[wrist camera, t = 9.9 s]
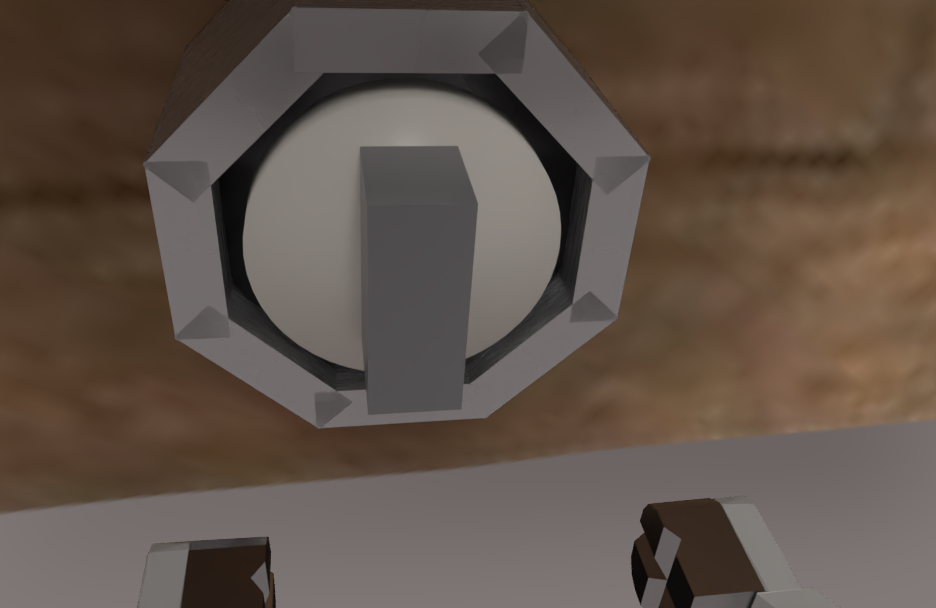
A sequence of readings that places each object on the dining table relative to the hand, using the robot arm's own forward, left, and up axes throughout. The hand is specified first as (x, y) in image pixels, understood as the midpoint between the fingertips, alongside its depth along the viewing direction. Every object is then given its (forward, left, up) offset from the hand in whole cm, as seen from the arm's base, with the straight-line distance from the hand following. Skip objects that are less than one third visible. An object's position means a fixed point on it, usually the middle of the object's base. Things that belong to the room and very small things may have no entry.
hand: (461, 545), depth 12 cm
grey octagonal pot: (0, 0, -15) cm, 15 cm away
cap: (0, 0, -9) cm, 9 cm away
